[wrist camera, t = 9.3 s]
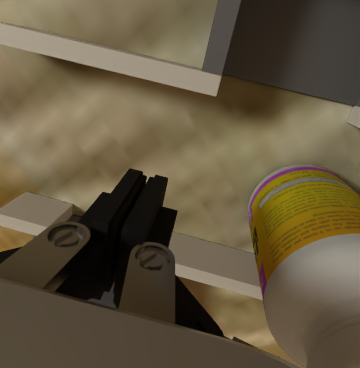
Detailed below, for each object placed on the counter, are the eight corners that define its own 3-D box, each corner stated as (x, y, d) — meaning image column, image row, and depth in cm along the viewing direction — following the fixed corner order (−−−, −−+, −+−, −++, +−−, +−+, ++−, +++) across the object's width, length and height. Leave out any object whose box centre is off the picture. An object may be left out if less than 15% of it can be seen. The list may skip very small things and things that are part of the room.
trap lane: (19, -123, 15) (-75, -207, 10) (550, -13, 13) (721, -54, 9) (28, 266, 26) (-14, 309, 21) (315, 349, 24) (335, 415, 20)
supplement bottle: (230, 189, 20) (239, 365, 8) (323, 142, 18) (528, 286, 6) (272, 259, 21) (333, 493, 9) (362, 224, 19) (585, 468, 7)
